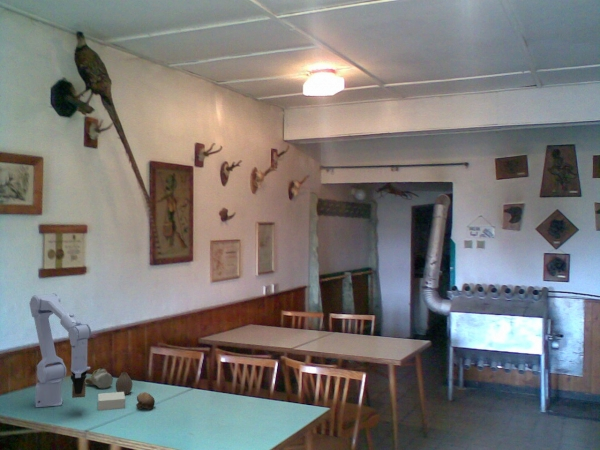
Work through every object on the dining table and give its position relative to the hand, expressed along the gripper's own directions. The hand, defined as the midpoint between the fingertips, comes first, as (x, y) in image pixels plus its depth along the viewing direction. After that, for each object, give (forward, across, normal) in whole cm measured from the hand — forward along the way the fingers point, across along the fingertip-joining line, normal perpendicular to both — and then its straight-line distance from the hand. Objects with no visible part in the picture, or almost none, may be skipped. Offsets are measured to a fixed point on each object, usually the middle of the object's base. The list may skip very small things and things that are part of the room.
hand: (78, 391), depth 224 cm
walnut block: (+2, 0, 0) cm, 2 cm away
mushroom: (+8, -1, -25) cm, 26 cm away
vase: (+8, +21, -17) cm, 28 cm away
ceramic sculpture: (+8, +36, -7) cm, 37 cm away
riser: (+8, +6, -12) cm, 16 cm away
